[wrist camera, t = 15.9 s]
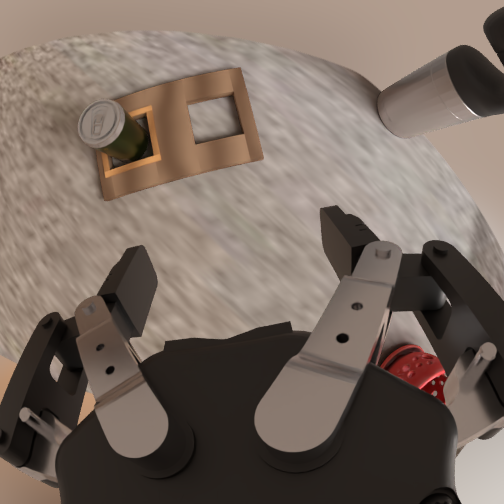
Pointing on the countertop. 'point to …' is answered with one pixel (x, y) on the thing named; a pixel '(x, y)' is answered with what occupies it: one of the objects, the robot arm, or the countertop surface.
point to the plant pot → (417, 369)
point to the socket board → (181, 134)
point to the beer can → (112, 131)
